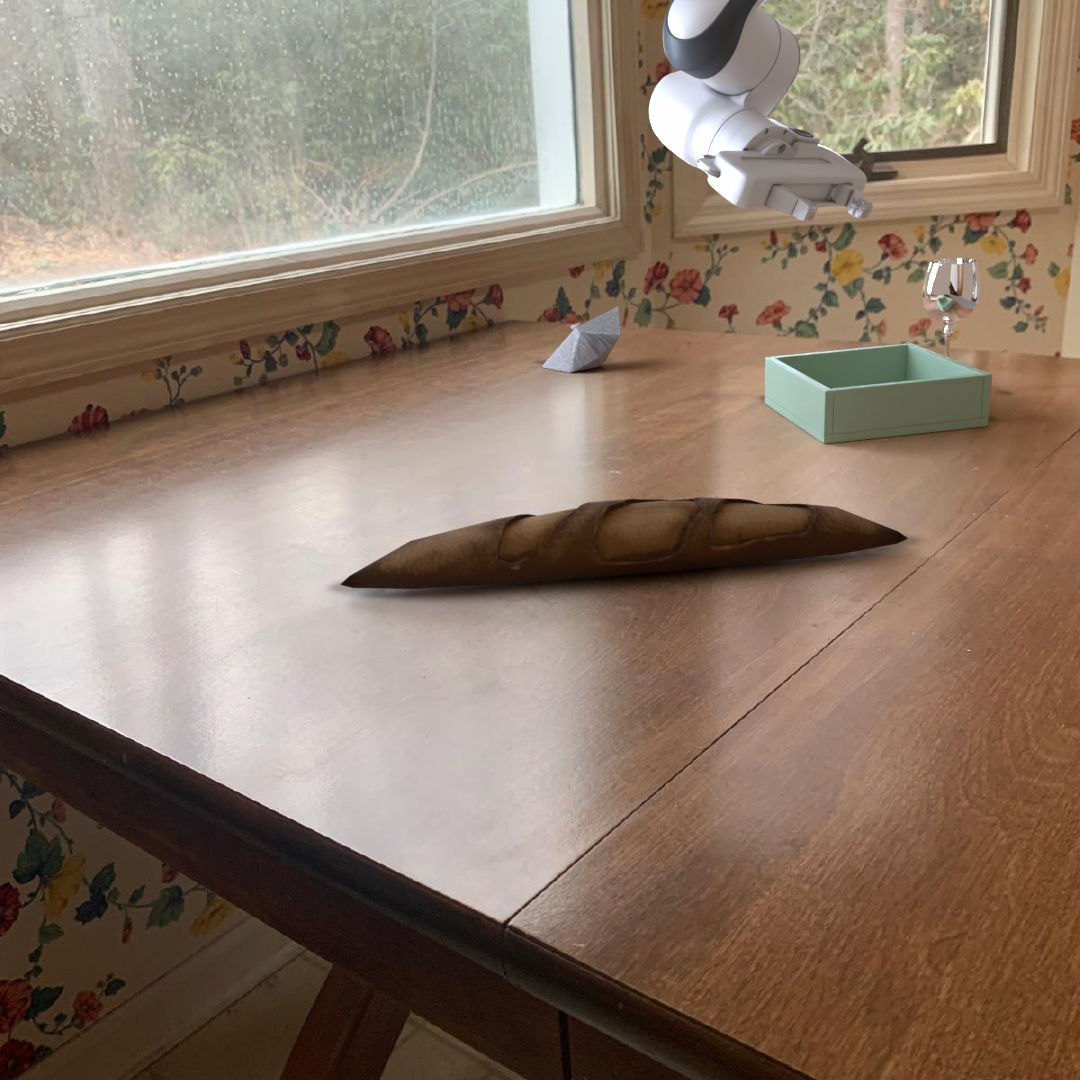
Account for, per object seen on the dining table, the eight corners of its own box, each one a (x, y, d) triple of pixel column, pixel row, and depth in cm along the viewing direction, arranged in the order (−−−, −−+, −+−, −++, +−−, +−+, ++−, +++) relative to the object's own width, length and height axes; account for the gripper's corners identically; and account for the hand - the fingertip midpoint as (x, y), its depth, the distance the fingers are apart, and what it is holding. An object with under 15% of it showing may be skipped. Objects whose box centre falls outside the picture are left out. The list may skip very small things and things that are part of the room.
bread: (337, 610, 70) (327, 538, 68) (346, 580, 75) (336, 511, 73) (921, 563, 71) (925, 490, 69) (893, 536, 76) (897, 467, 74)
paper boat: (544, 369, 128) (519, 337, 135) (570, 405, 132) (544, 372, 139) (627, 307, 127) (596, 277, 134) (650, 345, 131) (620, 315, 138)
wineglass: (978, 370, 119) (987, 257, 114) (968, 382, 114) (977, 265, 110) (924, 367, 122) (930, 257, 117) (911, 379, 117) (918, 265, 113)
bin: (909, 388, 113) (911, 342, 111) (988, 426, 99) (992, 374, 97) (764, 403, 111) (765, 357, 110) (823, 444, 97) (825, 391, 95)
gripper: (698, 128, 116) (787, 186, 109) (821, 132, 128) (908, 184, 120) (679, 185, 120) (763, 244, 112) (800, 183, 132) (883, 237, 124)
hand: (839, 213), depth 116 cm, fingers open, 8 cm apart
